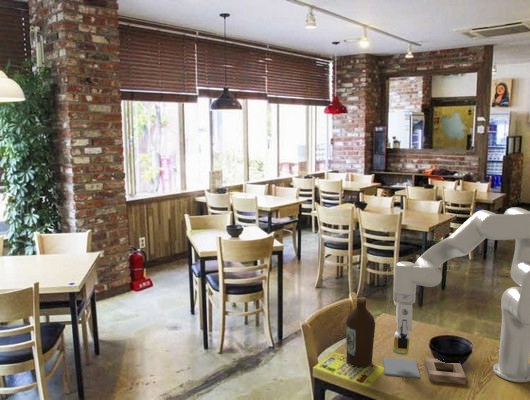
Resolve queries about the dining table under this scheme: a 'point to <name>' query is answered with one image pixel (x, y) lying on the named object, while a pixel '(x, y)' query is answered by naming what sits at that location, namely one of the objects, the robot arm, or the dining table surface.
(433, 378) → the frame
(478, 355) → the dining table surface
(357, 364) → the olive oil
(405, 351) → the supplement bottle
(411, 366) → the slate coaster
